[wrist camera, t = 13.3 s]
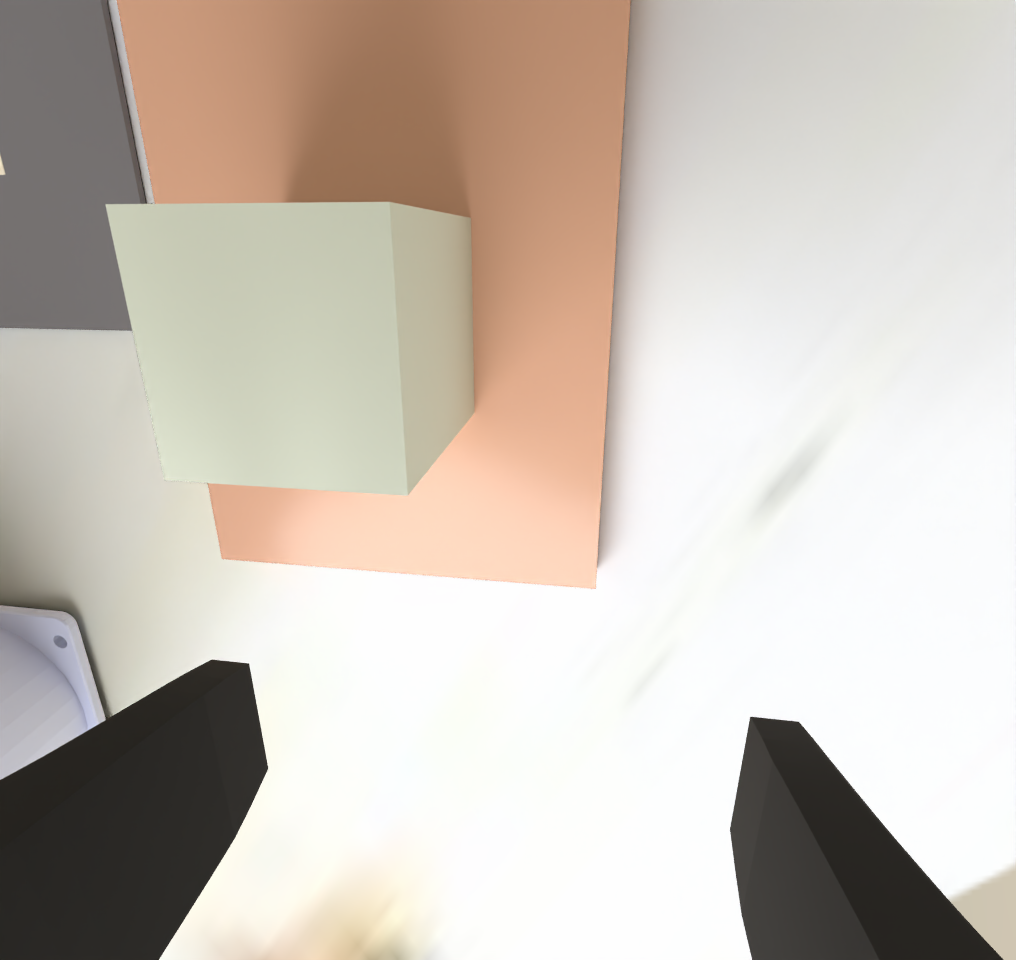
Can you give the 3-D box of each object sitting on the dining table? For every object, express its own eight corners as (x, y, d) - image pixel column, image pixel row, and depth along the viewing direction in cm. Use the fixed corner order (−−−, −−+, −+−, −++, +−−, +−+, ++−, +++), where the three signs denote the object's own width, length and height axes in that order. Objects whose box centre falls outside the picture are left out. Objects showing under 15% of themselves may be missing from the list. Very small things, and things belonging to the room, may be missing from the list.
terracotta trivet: (596, 570, 18) (595, 589, 17) (240, 543, 19) (222, 559, 18) (632, -33, 12) (633, -55, 12) (145, -2, 14) (112, -19, 13)
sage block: (474, 412, 15) (407, 496, 10) (305, 405, 16) (164, 480, 11) (471, 217, 14) (389, 201, 9) (283, 219, 14) (105, 203, 9)
